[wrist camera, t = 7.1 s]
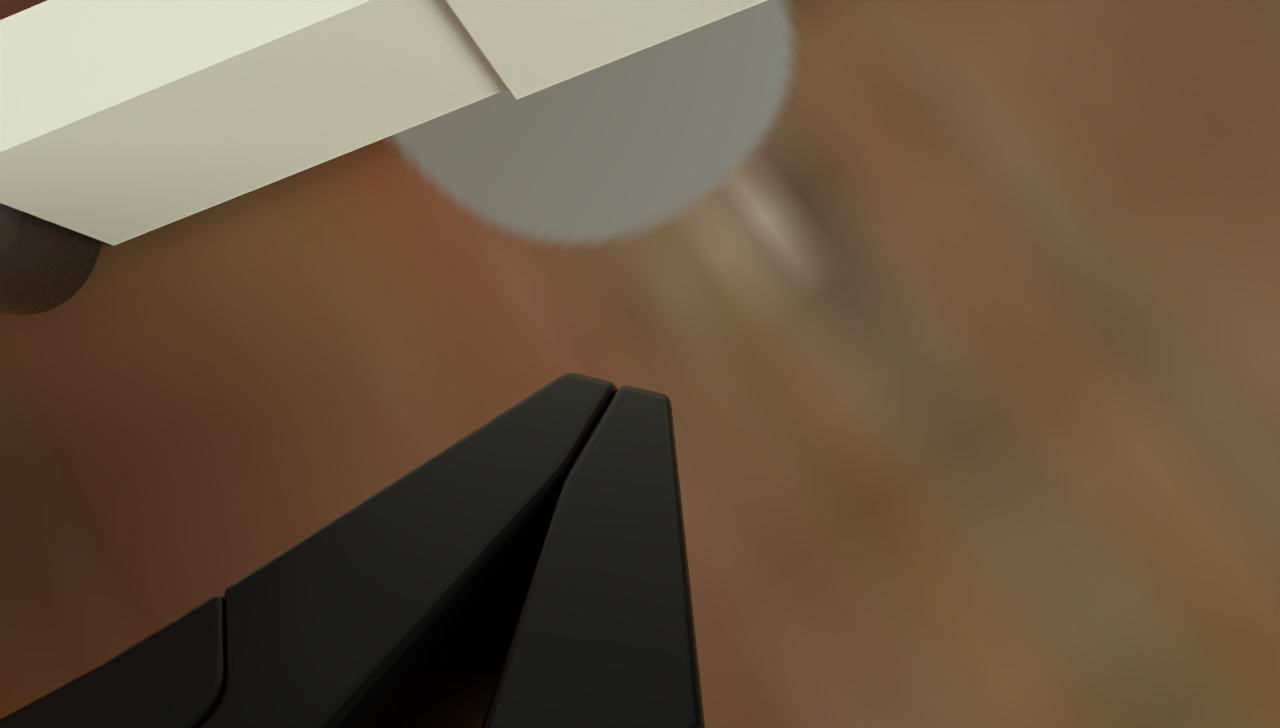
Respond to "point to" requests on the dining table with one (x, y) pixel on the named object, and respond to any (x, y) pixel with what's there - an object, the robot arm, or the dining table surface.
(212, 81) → the gate
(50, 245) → the hinge post
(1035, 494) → the dining table surface
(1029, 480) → the dining table surface
